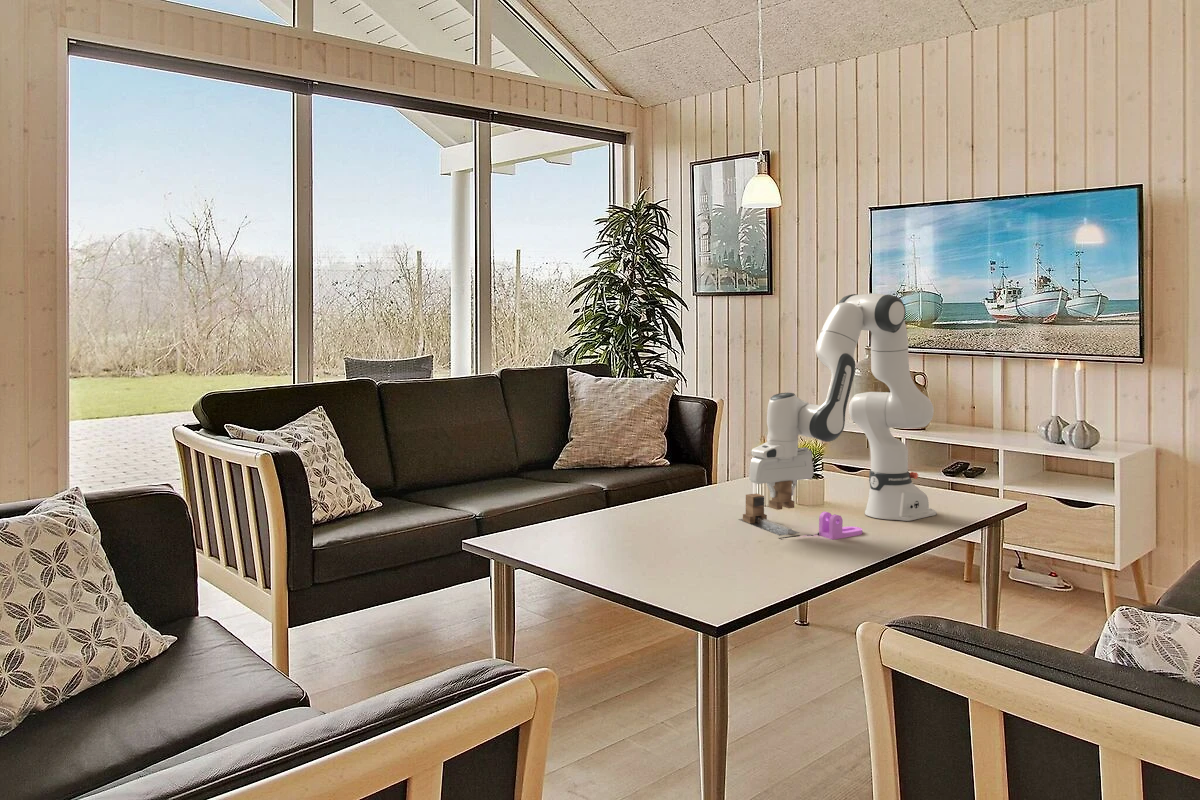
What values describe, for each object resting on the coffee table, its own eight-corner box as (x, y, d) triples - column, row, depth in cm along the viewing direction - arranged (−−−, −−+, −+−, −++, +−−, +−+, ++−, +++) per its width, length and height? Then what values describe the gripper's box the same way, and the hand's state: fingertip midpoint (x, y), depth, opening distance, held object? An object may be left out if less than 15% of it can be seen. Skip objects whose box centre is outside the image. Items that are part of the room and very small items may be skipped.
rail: (757, 520, 277) (757, 512, 277) (799, 536, 257) (799, 527, 257) (737, 522, 275) (737, 514, 274) (779, 538, 255) (779, 530, 254)
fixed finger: (759, 518, 275) (759, 493, 275) (768, 521, 271) (768, 495, 270) (742, 520, 273) (742, 494, 272) (751, 523, 269) (751, 497, 268)
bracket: (832, 540, 253) (832, 516, 252) (818, 535, 258) (819, 512, 257) (866, 534, 259) (866, 510, 259) (852, 530, 264) (852, 507, 263)
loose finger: (784, 504, 262) (784, 477, 262) (794, 507, 258) (794, 480, 257) (767, 506, 260) (767, 479, 259) (777, 509, 256) (777, 482, 255)
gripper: (804, 445, 264) (804, 491, 265) (746, 450, 256) (746, 497, 257) (818, 448, 258) (817, 495, 260) (758, 453, 250) (758, 501, 251)
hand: (781, 496), depth 258 cm, fingers closed on loose finger, 4 cm apart
